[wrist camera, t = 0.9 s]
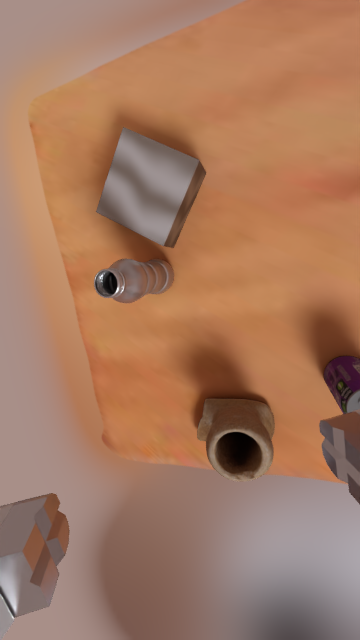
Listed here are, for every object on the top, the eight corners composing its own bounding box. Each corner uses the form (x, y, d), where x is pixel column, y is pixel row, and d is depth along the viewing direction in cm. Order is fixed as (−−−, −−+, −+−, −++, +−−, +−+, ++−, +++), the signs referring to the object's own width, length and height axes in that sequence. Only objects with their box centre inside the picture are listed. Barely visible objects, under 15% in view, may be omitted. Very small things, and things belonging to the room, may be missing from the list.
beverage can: (314, 368, 47) (331, 401, 36) (352, 346, 45) (383, 374, 33) (338, 399, 47) (364, 441, 36) (378, 379, 45) (418, 418, 33)
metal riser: (139, 143, 48) (123, 127, 42) (206, 172, 46) (198, 159, 40) (113, 217, 52) (96, 211, 47) (173, 247, 50) (162, 245, 44)
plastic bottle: (183, 271, 50) (138, 275, 32) (165, 299, 53) (113, 319, 34) (157, 252, 51) (98, 246, 32) (140, 281, 53) (76, 290, 35)
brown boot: (274, 388, 50) (280, 437, 36) (273, 443, 52) (279, 509, 38) (197, 383, 54) (176, 425, 40) (200, 434, 57) (180, 490, 43)
